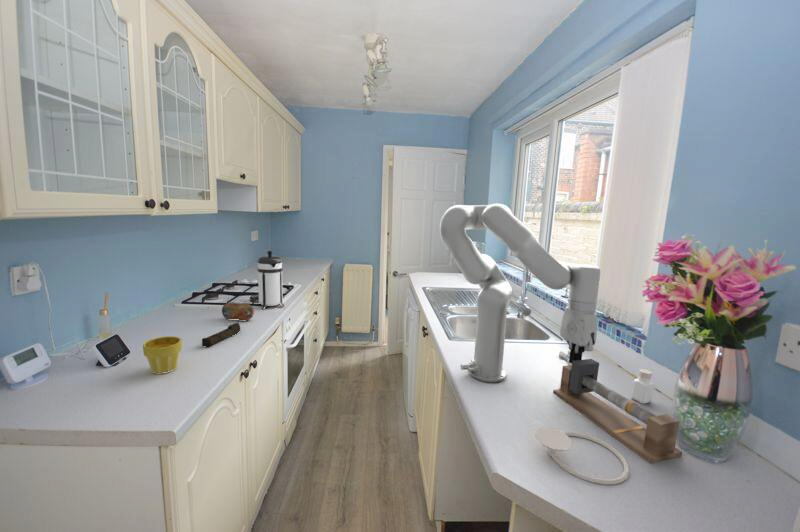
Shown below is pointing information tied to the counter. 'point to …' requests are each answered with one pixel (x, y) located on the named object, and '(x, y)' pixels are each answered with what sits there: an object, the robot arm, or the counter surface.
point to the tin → (237, 311)
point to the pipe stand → (623, 419)
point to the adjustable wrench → (565, 356)
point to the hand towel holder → (563, 442)
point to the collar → (582, 374)
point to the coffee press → (270, 280)
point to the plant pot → (162, 353)
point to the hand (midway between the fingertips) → (574, 363)
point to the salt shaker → (642, 387)
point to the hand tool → (221, 335)
